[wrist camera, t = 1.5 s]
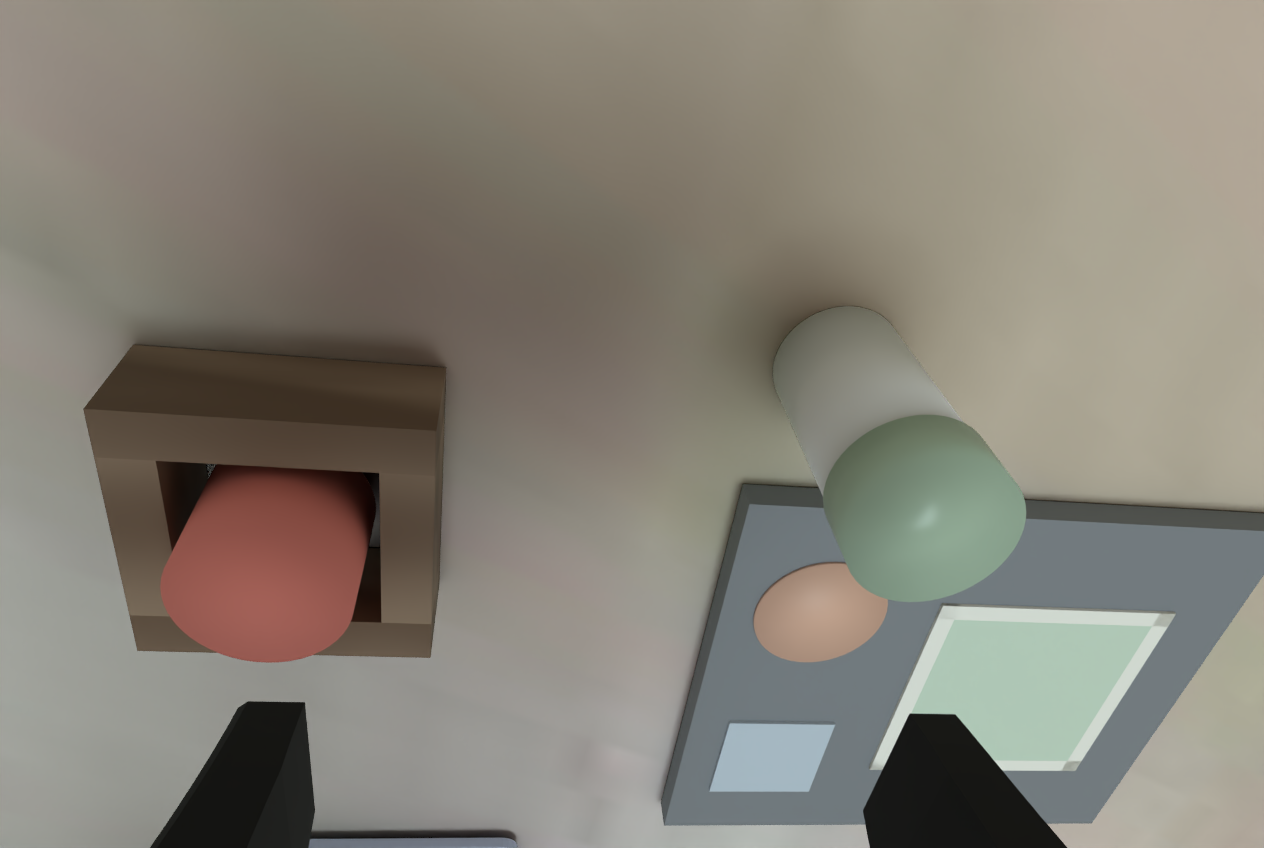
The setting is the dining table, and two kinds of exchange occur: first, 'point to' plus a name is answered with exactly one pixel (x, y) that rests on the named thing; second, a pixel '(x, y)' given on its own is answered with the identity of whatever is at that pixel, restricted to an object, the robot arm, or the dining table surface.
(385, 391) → the button box
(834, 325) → the pale green cylinder
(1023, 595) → the picture board
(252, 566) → the button
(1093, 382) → the dining table surface
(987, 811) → the robot arm
